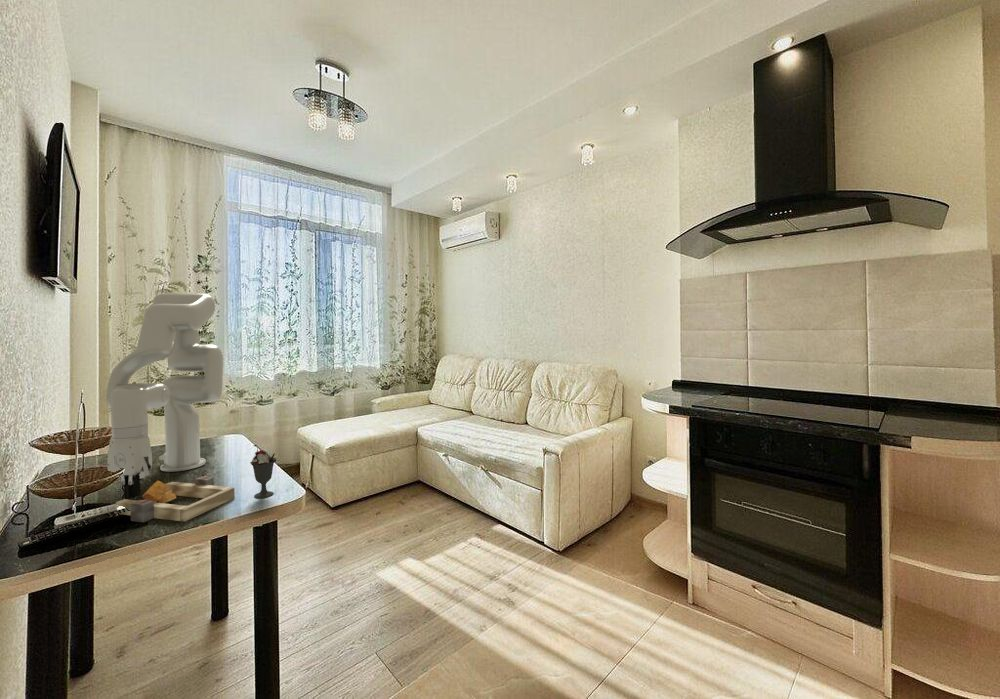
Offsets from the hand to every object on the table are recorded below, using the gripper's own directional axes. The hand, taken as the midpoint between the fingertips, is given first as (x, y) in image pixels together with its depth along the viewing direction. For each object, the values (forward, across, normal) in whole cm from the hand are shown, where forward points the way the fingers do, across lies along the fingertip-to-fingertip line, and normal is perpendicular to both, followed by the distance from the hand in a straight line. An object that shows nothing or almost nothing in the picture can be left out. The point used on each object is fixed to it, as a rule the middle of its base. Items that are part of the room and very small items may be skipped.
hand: (132, 496), depth 116 cm
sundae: (+1, +32, +11) cm, 34 cm away
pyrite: (+1, +9, 0) cm, 9 cm away
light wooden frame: (+1, +15, 0) cm, 15 cm away
